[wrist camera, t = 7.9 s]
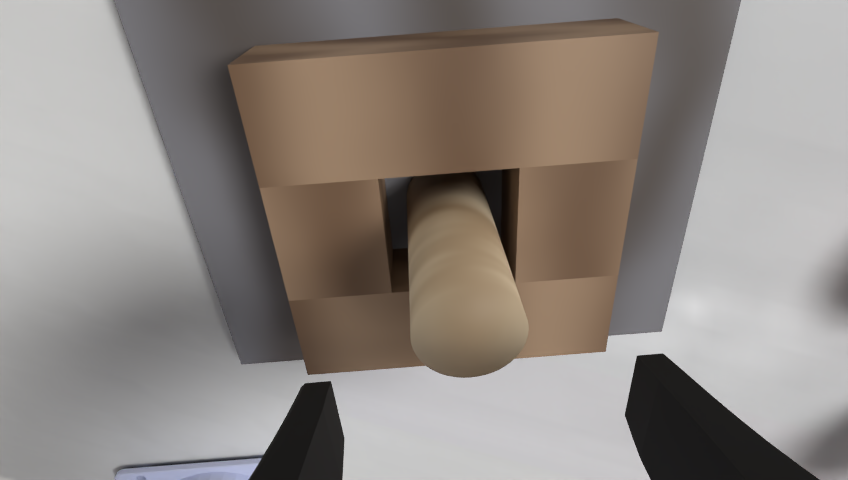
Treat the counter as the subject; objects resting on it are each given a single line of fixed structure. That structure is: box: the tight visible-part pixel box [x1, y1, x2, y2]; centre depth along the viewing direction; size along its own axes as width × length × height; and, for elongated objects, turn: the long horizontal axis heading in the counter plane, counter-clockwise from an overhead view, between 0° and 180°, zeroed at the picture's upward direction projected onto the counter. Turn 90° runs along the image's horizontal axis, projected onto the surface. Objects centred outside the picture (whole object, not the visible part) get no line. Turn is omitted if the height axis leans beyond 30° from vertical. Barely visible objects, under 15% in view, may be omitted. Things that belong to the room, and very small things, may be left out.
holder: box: [114, 0, 741, 375], centre depth 19 cm, size 20×16×4 cm
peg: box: [407, 172, 529, 378], centre depth 16 cm, size 3×3×8 cm
